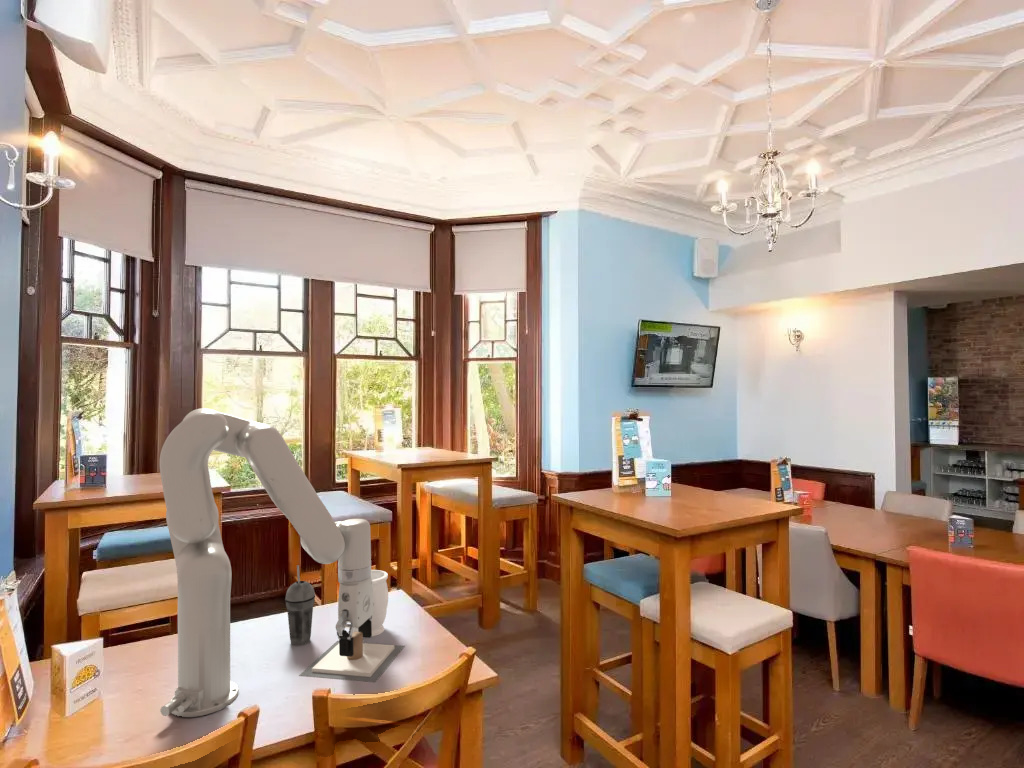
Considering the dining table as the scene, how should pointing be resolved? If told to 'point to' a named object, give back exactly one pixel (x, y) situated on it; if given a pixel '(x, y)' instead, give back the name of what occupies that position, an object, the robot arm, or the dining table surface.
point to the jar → (378, 601)
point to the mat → (373, 678)
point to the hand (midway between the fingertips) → (356, 646)
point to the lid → (355, 658)
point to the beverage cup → (300, 611)
